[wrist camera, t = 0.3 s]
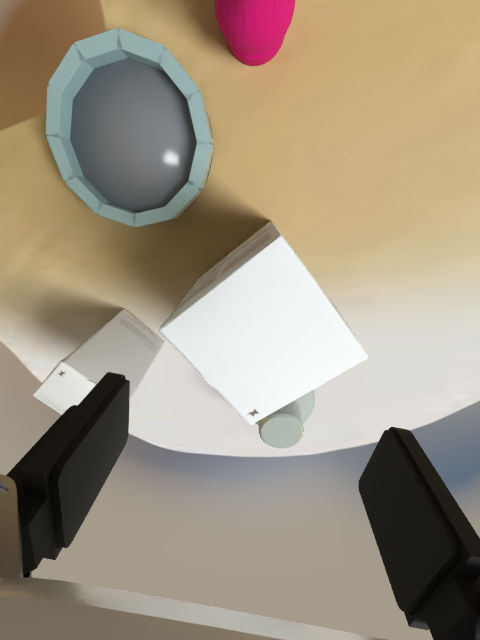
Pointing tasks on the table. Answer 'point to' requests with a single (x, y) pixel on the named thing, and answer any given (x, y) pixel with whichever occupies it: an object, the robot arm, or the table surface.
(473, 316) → the table surface
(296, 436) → the air freshener
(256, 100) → the table surface
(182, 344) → the supplement box
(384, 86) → the table surface
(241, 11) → the pepper mill
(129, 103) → the round tray
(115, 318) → the skincare box
